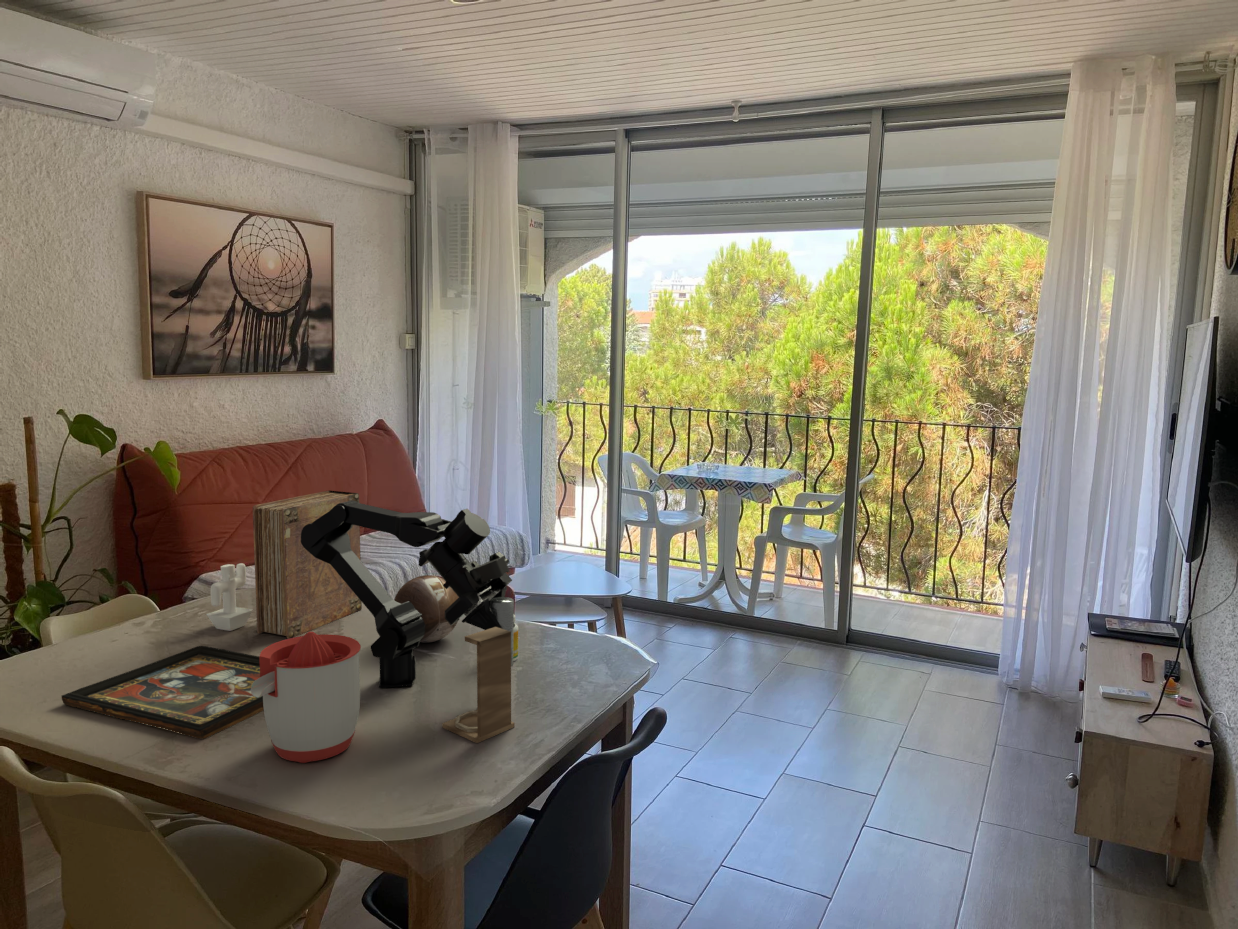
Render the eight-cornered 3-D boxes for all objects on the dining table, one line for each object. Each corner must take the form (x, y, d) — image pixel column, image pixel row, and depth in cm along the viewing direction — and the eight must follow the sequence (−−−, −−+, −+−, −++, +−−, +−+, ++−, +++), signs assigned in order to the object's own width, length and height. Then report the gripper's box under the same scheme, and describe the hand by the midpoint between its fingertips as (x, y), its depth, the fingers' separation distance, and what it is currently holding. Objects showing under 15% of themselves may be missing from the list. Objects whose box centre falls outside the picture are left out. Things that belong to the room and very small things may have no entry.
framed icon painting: (340, 672, 179) (340, 659, 179) (219, 747, 146) (219, 730, 145) (187, 653, 189) (186, 640, 189) (41, 718, 156) (40, 702, 155)
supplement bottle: (492, 663, 184) (492, 619, 183) (493, 654, 189) (493, 612, 188) (518, 663, 185) (518, 619, 183) (518, 654, 190) (518, 611, 189)
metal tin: (487, 668, 162) (488, 603, 161) (491, 660, 167) (491, 596, 165) (511, 669, 162) (512, 604, 161) (514, 660, 167) (515, 597, 165)
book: (287, 639, 197) (282, 509, 193) (256, 634, 201) (251, 505, 197) (362, 609, 220) (359, 492, 216) (333, 605, 224) (329, 489, 220)
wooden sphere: (428, 656, 187) (427, 589, 185) (379, 643, 195) (377, 578, 193) (474, 637, 200) (474, 574, 198) (426, 626, 208) (425, 564, 206)
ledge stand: (442, 727, 153) (441, 630, 150) (479, 712, 159) (479, 619, 157) (477, 743, 147) (476, 642, 145) (514, 727, 153) (514, 630, 151)
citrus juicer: (237, 750, 143) (231, 632, 141) (336, 719, 155) (333, 611, 153) (277, 784, 132) (272, 658, 130) (380, 749, 144) (378, 632, 142)
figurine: (202, 630, 202) (199, 567, 200) (234, 619, 211) (231, 558, 209) (226, 635, 200) (223, 571, 198) (257, 623, 208) (254, 562, 206)
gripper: (460, 552, 154) (517, 620, 152) (503, 532, 171) (554, 592, 170) (420, 591, 157) (476, 658, 155) (466, 567, 175) (516, 626, 173)
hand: (508, 631), depth 163 cm, fingers closed on metal tin, 4 cm apart
